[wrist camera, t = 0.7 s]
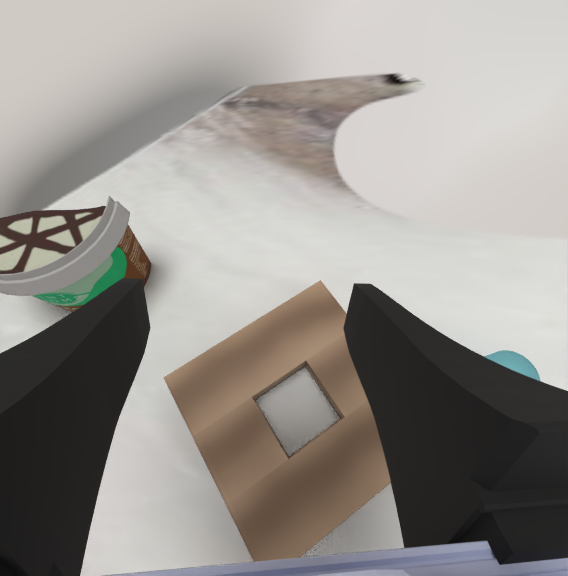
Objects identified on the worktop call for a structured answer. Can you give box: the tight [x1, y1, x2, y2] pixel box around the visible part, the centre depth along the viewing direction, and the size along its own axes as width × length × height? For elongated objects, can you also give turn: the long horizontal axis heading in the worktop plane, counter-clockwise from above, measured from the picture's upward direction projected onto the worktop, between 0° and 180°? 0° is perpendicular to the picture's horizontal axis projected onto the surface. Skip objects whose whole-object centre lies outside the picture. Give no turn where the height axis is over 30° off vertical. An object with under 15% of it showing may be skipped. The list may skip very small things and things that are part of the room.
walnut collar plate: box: [164, 280, 391, 562], centre depth 26 cm, size 15×15×2 cm
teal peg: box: [485, 351, 540, 381], centre depth 25 cm, size 4×4×6 cm
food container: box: [0, 196, 151, 312], centre depth 27 cm, size 12×6×10 cm, turn 97°
